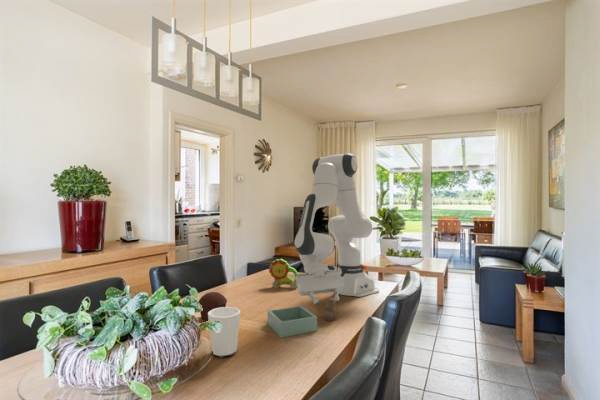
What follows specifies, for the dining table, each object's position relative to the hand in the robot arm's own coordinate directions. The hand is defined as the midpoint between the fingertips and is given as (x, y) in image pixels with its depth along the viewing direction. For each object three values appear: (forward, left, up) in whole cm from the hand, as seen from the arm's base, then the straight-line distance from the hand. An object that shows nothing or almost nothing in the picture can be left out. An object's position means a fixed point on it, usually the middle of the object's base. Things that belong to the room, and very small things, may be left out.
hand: (327, 301), depth 132 cm
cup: (+44, +13, -7) cm, 46 cm away
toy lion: (-1, -50, -7) cm, 51 cm away
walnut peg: (0, +2, -7) cm, 7 cm away
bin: (+17, +3, -6) cm, 18 cm away
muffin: (+42, -19, -7) cm, 46 cm away
